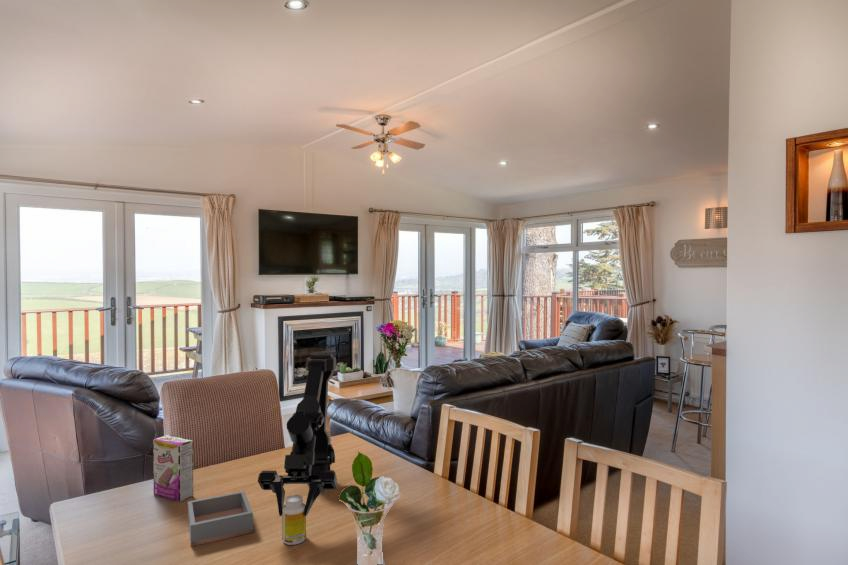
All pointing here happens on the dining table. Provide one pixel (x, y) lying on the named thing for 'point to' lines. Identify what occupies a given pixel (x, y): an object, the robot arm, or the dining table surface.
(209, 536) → the walled box
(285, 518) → the supplement bottle
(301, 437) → the robot arm
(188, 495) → the candy bar box
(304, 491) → the dining table surface
